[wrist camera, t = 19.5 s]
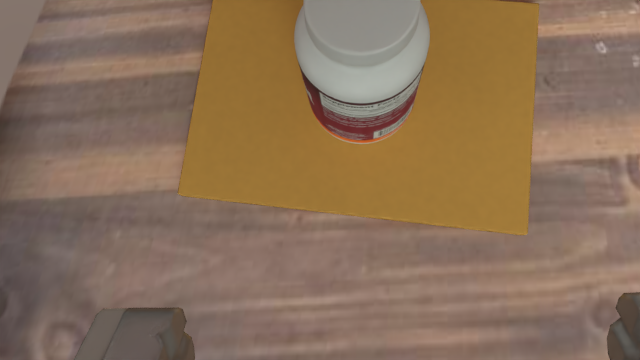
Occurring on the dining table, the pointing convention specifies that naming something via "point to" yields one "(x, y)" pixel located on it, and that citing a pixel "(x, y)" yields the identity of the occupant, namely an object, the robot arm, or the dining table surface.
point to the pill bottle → (361, 64)
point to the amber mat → (379, 157)
